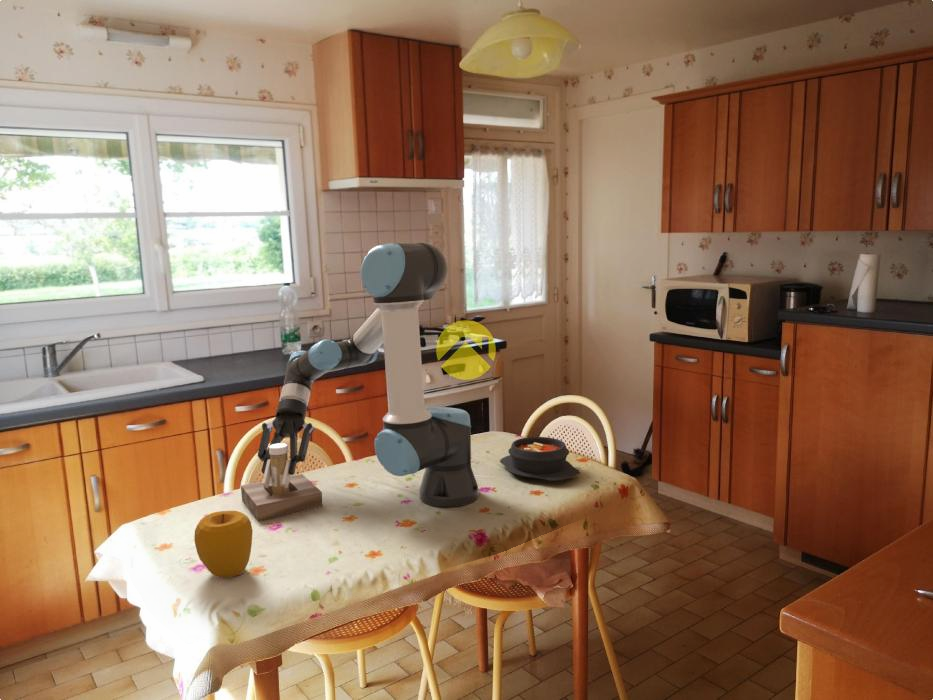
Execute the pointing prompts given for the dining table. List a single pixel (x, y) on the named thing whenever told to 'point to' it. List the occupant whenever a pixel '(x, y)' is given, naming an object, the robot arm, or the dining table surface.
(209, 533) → the apple
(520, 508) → the dining table surface
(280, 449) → the sprinkles bottle
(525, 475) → the casserole
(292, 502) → the frame
